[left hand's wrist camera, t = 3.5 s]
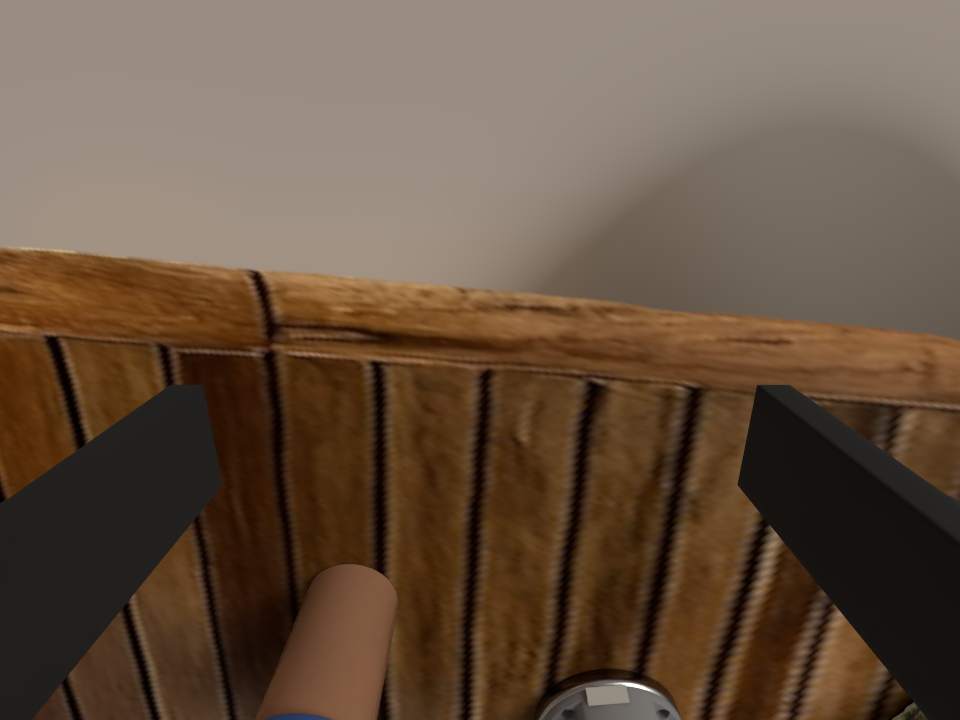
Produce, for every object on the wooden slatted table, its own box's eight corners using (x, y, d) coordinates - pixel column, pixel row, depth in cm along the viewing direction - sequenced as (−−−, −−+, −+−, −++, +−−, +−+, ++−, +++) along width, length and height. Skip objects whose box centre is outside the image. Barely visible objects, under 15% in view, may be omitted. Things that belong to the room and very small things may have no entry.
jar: (296, 570, 49) (216, 745, 34) (386, 557, 49) (345, 729, 34) (321, 639, 52) (257, 828, 37) (406, 628, 51) (377, 815, 37)
